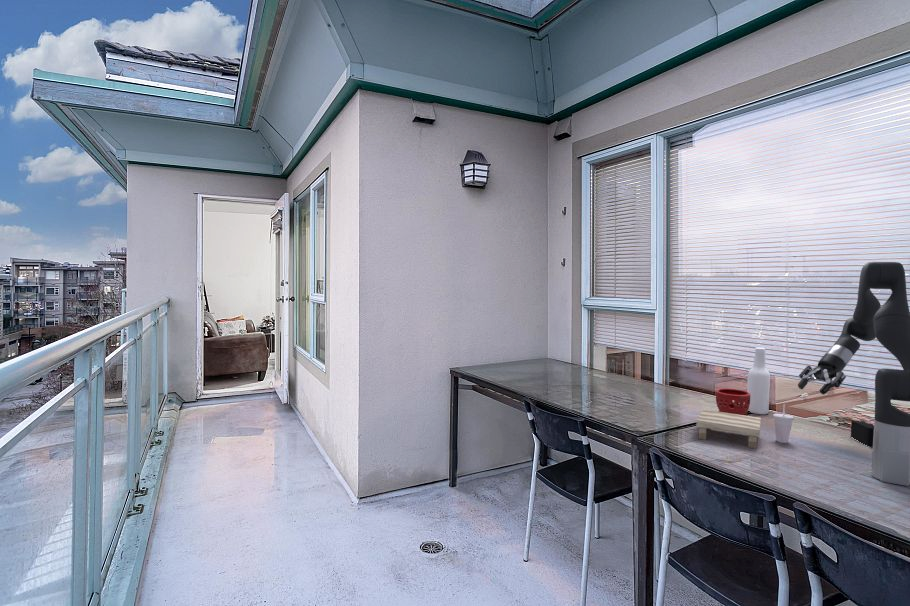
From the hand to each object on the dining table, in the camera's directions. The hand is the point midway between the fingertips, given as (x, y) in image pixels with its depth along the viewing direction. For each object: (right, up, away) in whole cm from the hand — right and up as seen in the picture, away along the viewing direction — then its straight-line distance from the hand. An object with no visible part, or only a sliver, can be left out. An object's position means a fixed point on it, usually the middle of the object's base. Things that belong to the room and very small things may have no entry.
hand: (810, 390), depth 182 cm
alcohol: (+6, -18, +41) cm, 45 cm away
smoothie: (-12, -19, -2) cm, 23 cm away
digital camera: (+21, -20, -1) cm, 29 cm away
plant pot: (-13, -18, +30) cm, 37 cm away
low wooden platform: (-30, -18, +1) cm, 35 cm away
